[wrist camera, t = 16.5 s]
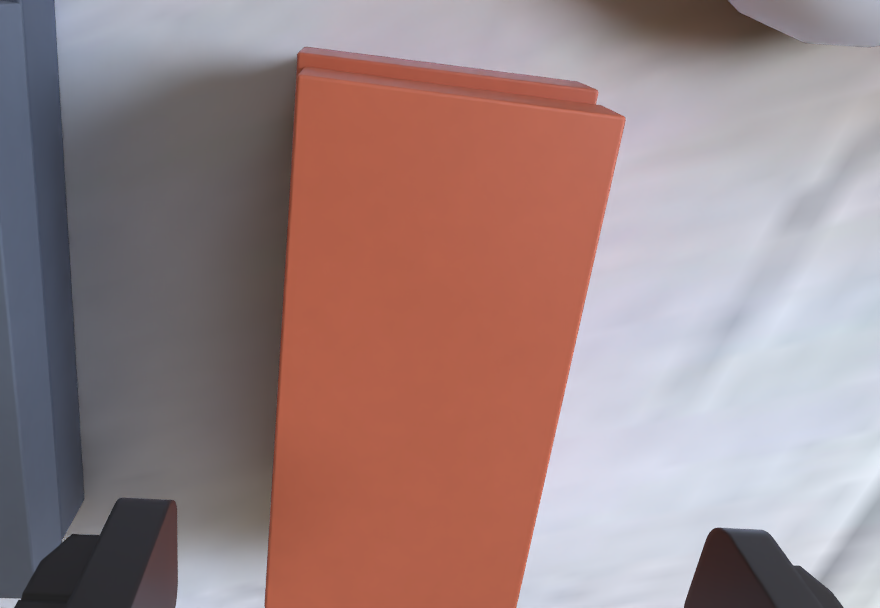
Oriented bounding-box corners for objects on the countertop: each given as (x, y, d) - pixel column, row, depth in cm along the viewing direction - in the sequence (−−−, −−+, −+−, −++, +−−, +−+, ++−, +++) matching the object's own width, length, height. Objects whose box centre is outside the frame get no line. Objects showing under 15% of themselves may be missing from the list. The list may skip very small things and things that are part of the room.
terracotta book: (303, 65, 15) (296, 73, 13) (602, 105, 16) (627, 117, 14) (271, 563, 19) (263, 610, 18) (504, 573, 20) (514, 619, 19)
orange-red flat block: (308, 41, 18) (297, 51, 15) (562, 74, 18) (599, 90, 15) (282, 489, 22) (269, 565, 19) (485, 500, 23) (501, 573, 20)
